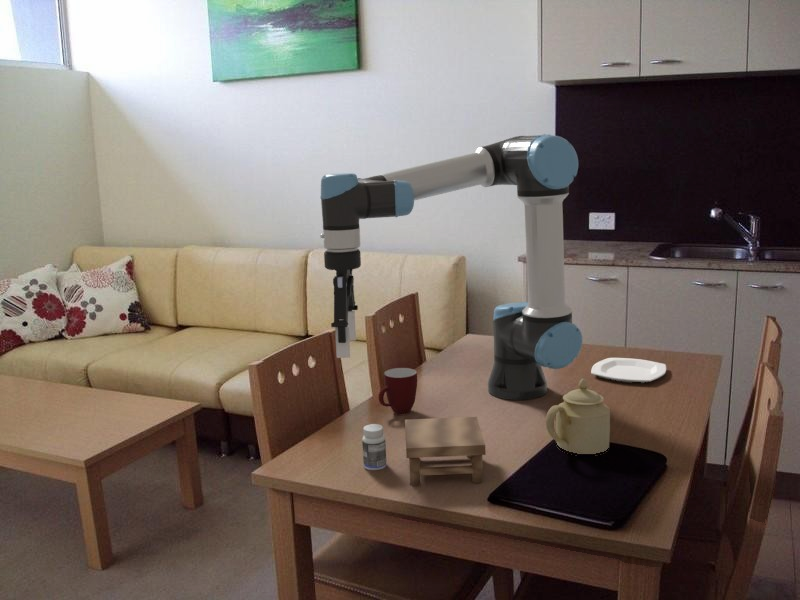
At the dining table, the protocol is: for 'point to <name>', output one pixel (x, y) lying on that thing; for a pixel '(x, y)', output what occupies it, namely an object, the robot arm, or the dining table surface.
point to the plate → (628, 369)
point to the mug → (399, 389)
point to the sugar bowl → (580, 422)
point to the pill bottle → (374, 447)
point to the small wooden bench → (444, 445)
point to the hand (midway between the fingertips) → (346, 348)
